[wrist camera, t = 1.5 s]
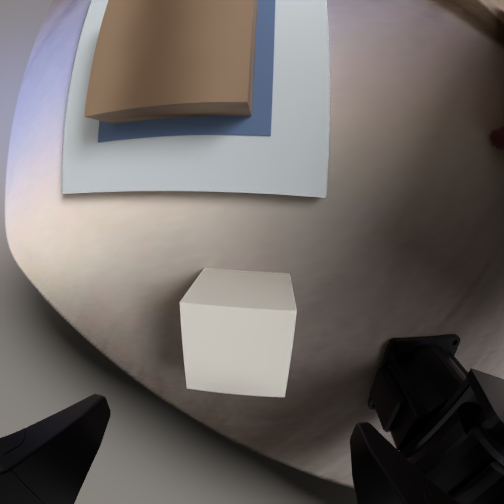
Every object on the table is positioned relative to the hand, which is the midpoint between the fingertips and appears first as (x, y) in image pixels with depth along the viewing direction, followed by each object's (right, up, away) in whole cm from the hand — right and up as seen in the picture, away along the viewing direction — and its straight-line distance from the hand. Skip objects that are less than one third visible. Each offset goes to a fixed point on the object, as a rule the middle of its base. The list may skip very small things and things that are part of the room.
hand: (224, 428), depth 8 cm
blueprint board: (-3, +17, +5) cm, 18 cm away
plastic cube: (0, +2, +9) cm, 9 cm away
